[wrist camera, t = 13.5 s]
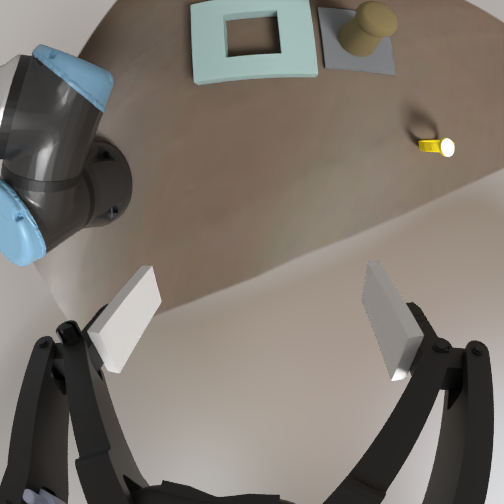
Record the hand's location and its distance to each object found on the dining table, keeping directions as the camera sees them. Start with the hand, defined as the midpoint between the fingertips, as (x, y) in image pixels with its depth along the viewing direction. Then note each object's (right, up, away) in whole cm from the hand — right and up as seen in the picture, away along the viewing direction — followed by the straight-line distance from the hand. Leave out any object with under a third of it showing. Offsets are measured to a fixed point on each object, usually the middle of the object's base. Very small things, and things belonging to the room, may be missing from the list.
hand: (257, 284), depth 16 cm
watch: (+28, +19, +18) cm, 38 cm away
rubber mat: (+15, +33, +13) cm, 39 cm away
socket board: (0, +33, +14) cm, 36 cm away
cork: (+15, +33, +12) cm, 38 cm away
